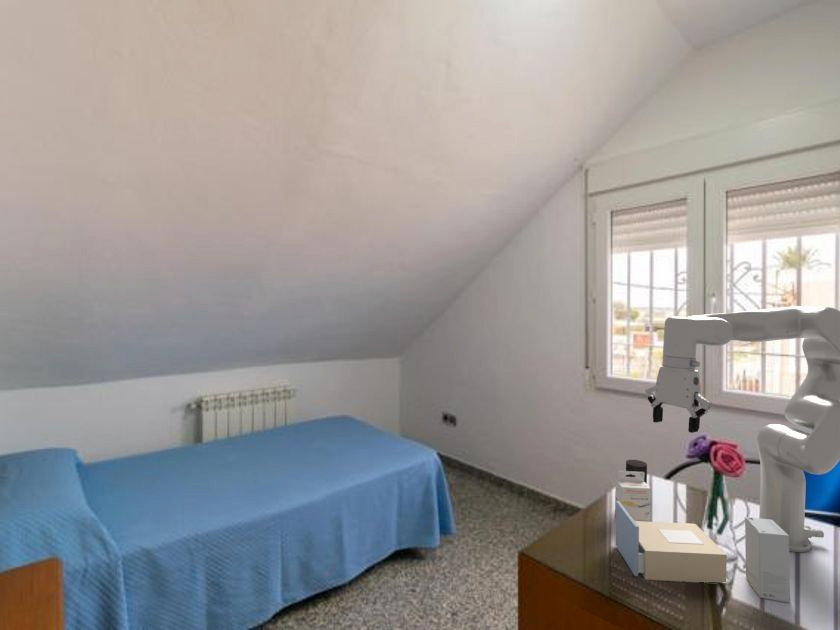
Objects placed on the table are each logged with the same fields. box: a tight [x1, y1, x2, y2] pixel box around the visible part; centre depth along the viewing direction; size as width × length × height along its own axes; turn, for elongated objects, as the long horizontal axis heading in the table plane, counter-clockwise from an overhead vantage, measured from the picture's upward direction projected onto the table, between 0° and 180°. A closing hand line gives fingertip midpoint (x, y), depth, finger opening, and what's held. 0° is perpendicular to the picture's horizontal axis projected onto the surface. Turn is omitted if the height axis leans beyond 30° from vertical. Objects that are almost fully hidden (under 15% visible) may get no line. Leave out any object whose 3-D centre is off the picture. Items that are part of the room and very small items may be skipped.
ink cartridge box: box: [614, 470, 652, 522], centre depth 129 cm, size 9×5×15 cm, turn 84°
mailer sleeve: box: [635, 521, 728, 584], centre depth 110 cm, size 18×14×7 cm
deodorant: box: [625, 459, 648, 485], centre depth 137 cm, size 6×6×15 cm
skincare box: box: [744, 516, 791, 604], centre depth 100 cm, size 8×6×15 cm
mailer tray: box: [615, 501, 645, 577], centre depth 110 cm, size 18×13×12 cm
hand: (674, 426), depth 117 cm, fingers open, 9 cm apart
